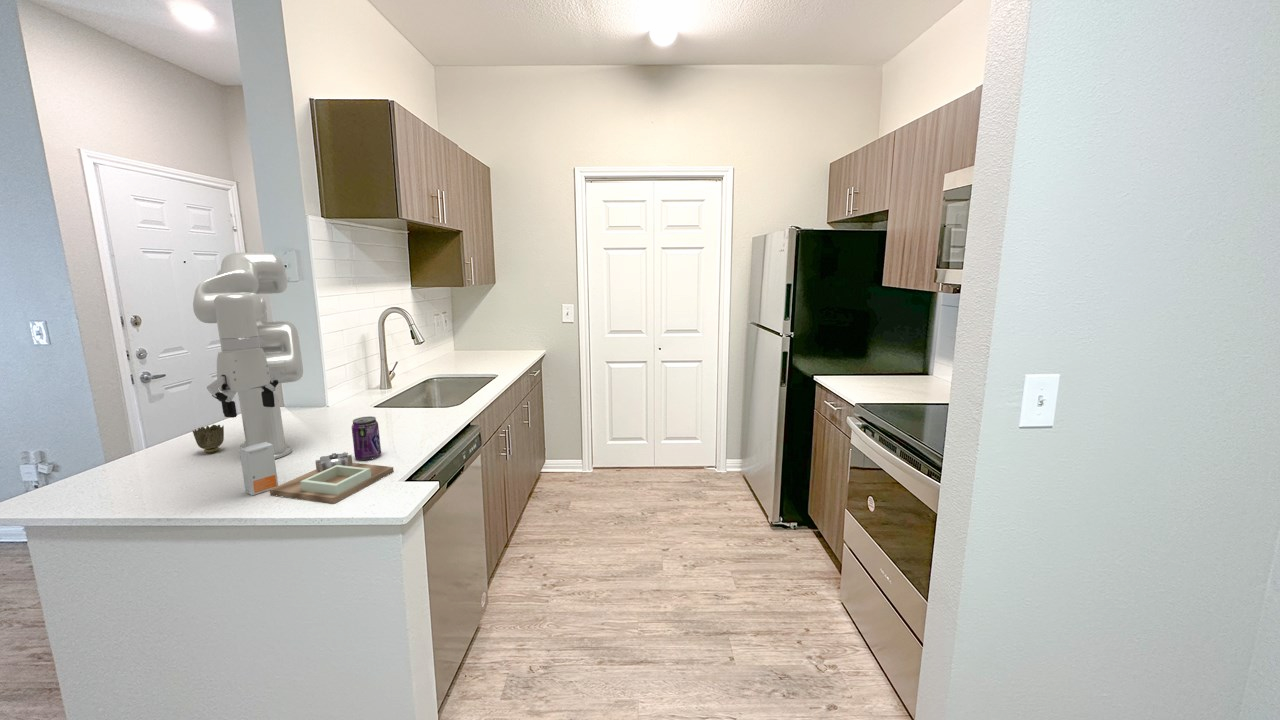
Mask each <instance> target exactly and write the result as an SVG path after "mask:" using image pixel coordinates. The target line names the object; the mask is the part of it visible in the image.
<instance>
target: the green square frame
mask: <svg viewBox="0 0 1280 720" xmlns="http://www.w3.org/2000/svg"><path fill="white" fill-rule="evenodd" d="M338 475H339V476H347V477H348V478H346V479H344V480H342V481H340V482H338V483H336V484H335V483H327V482H325V481H327V480H329V479H331V478H333V477H335V476H338ZM369 478H371V470H370V469H369V468H360V467H351V466H342V465H335V466H333V467H331V468H329V469H327V470H324V471H322V472H320V473H318V474H315V475H313V476H311V477H309V478H307V479H304V480H302V481H300V483H301V490H302V491H308V492H316V493H324V494H332V495H339V494H340V493H342V492H344V491H346V490H348V489H350V488H352V487H354V486H356V485H358V484H360V483H362V482H364V481H365V480H367V479H369Z"/></svg>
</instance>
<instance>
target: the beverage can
mask: <svg viewBox="0 0 1280 720" xmlns="http://www.w3.org/2000/svg"><path fill="white" fill-rule="evenodd" d="M379 429H380V428H379V423H378V420H377V418H376V416H362V417H357V418H355V419H353V420H352V425H351V434H352V442H353V443H352V444H353V452H354V453H353V454H354V458H355V459H357V460H360V461H369V460H373V459H376V458H377V457H379V456H380V455H381V454H382V448H381V439H380V430H379ZM375 457H376V458H375ZM372 458H373V459H372ZM368 459H369V460H368Z"/></svg>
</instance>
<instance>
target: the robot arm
mask: <svg viewBox="0 0 1280 720" xmlns="http://www.w3.org/2000/svg"><path fill="white" fill-rule="evenodd" d="M220 265H221V266H220V269H219V270H218V271H217V273H216V275H215V276H213V277H210V278H208V279H206V280H204V281H202V282H201V283H199V284H198V285H197V286H196V289H195V291H194V295H193V302H192V309H193V313H194V315H195V317H196V319H197V320H198V321H200V322H202V323H204V324H216V325H217V329H218V330H217V331H218V336H219V344H220V349H221V351H218V353H217V357H216V380H214V381H213V382H211V383H210V384H209V385H208V386H206V390H207V391H208V392H209V393H210V394H211V397H212V398H215V399H216V400H218V402H219V403H220V402H221V408H222V413H223V415H224V418H237V416H238V413H237V406H236V402H235V401H234V400H233V399H234V398H235V395H236V394H237V396H238V401H239V402H238V403H239V407H240V414H241V419H242V420H241V421H242V427H243V432H244V433H243V434H244V438H245V441H244V443H243V442H242V443H241V444H240V445H239V446H240V448H244V447H248V446H251V445H255V444H259V443H263V442H267V443H270V444H272V445H273V449H274V457H275V460H276V459H280V458H283V457H285V456H287V455H290V454H291V453H292V452H293V447H292V445H288V444H286V441H285V440H286V439H285V438H286V437H285V433H284V427H283V426H284V425H283V419H282V410H281V405H280V399H279V397H278V394H276V392H275V391H276V387H277V386H278V385H279V384H286V383H294V382H297V381H299V380H302V377H303V374H304V367H303V359H302V351H301V345H300V339H299V338H300V337H299V333H298V330H297V328H296V325H295V324H293V323H292V322H290V321H283V320H282V321H281V320H280V321H278V320H277V321H268V313H267V310H268V309H267V302H266V301H265V299H264V298H263V297H262V296H261V295H265V294H267V295H268V294H281V293H284V292H285V291H286V290H287V288H288V278H287V273H286V269H285V264H284V263H283V261H282V260H281V258H280V257H279V256H278V255H277V254H274V253H272V252H233V253H229V254H227V255H225V256H224V258H223V259H222V261H221V264H220Z"/></svg>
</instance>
